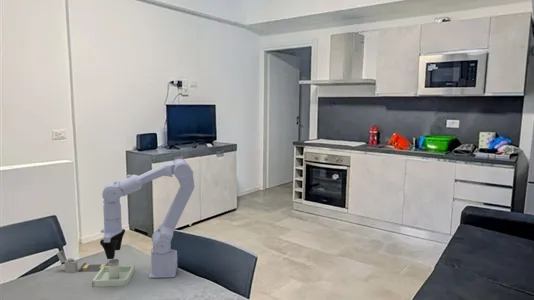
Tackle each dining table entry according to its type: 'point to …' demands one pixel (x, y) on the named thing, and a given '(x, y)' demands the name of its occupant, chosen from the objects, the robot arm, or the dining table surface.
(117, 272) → the fuse
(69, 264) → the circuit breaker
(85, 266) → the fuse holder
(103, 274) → the tray
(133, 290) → the dining table surface
